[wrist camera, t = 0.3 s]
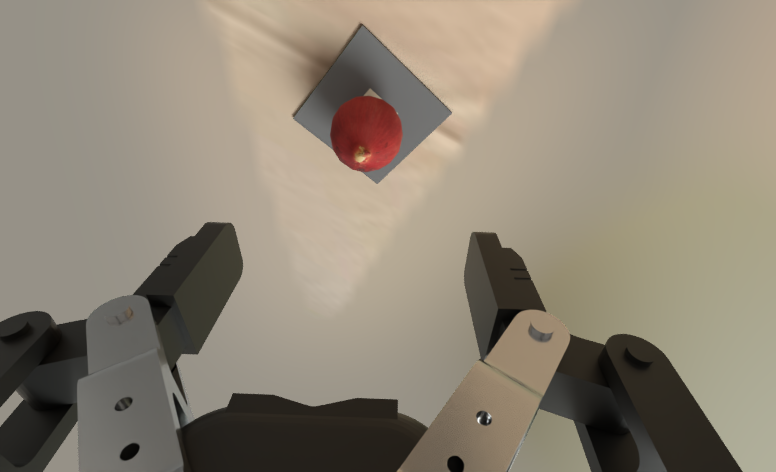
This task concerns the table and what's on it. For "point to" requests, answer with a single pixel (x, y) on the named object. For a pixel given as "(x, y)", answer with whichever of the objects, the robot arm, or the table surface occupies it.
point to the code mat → (373, 95)
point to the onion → (366, 133)
